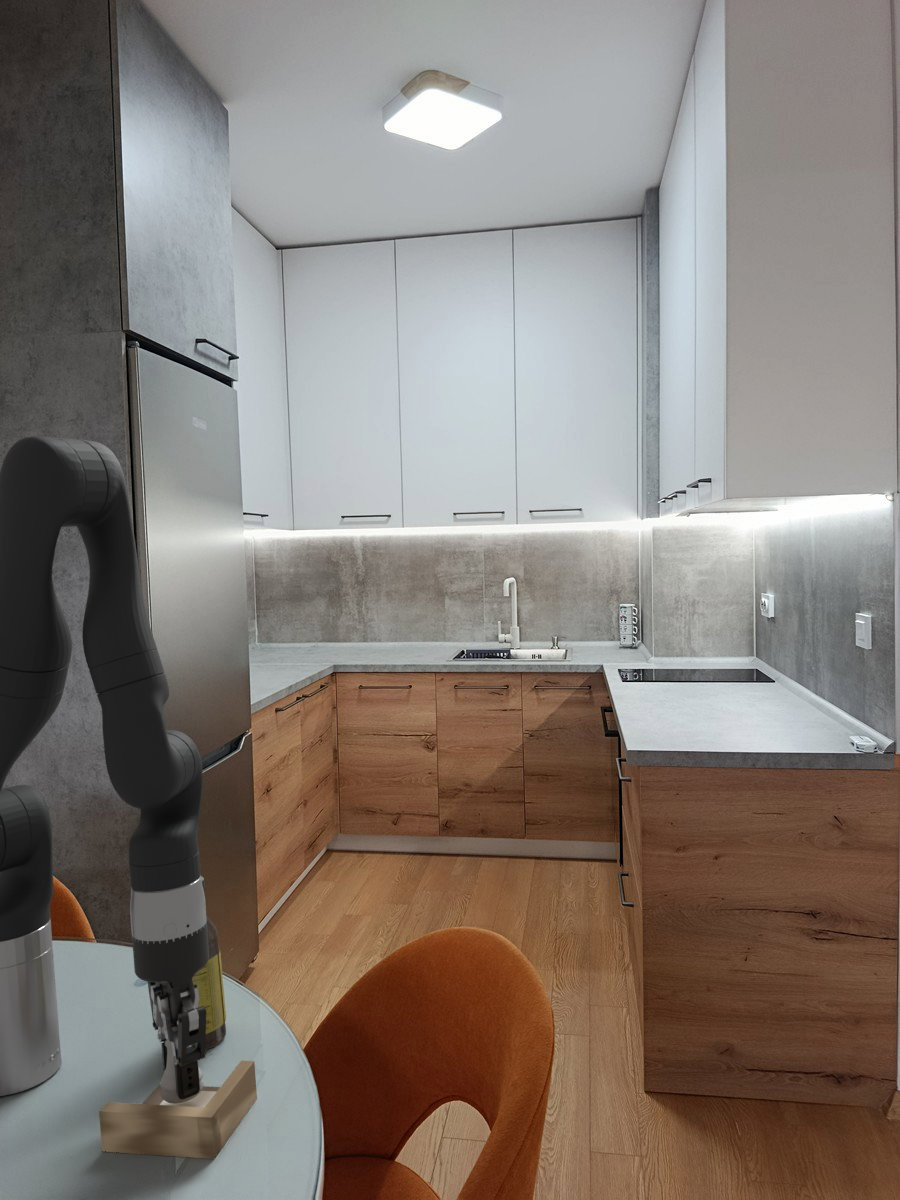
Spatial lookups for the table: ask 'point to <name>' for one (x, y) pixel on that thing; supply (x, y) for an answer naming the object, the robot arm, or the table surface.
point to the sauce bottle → (212, 989)
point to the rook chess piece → (173, 1077)
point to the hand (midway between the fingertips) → (181, 1083)
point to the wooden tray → (180, 1119)
